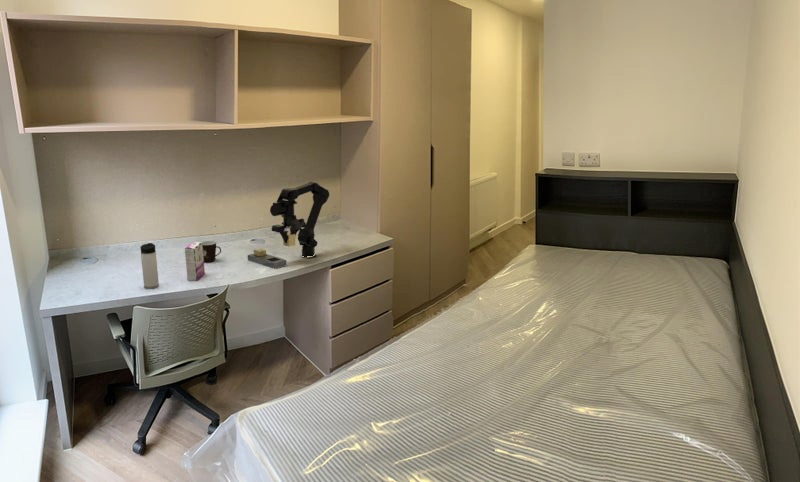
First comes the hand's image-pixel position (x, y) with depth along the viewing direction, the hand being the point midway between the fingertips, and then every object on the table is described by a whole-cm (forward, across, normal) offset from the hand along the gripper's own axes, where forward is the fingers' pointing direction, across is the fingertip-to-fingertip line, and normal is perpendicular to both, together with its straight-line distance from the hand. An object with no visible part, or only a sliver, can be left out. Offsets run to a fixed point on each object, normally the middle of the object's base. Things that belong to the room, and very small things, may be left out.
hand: (289, 242), depth 307 cm
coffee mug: (+12, -28, +31) cm, 43 cm away
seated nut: (+11, -9, +14) cm, 20 cm away
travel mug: (+12, -68, +17) cm, 71 cm away
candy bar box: (+12, -47, +14) cm, 50 cm away
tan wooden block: (+2, 0, 0) cm, 2 cm away
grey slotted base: (+11, -9, +8) cm, 16 cm away
